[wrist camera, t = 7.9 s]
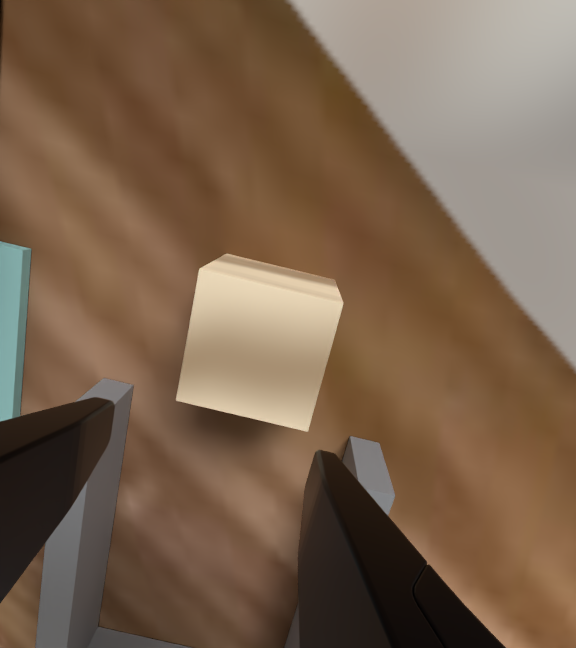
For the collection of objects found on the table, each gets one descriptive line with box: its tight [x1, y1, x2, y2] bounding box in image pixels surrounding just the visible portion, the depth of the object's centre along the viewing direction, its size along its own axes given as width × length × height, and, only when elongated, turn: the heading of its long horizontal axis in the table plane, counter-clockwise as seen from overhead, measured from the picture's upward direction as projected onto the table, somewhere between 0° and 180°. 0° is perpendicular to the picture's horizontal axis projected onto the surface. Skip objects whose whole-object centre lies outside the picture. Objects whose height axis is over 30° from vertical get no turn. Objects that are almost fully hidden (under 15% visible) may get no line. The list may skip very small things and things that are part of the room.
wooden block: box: [176, 254, 343, 432], centre depth 17 cm, size 5×5×5 cm
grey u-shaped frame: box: [35, 378, 395, 648], centre depth 21 cm, size 18×14×4 cm
